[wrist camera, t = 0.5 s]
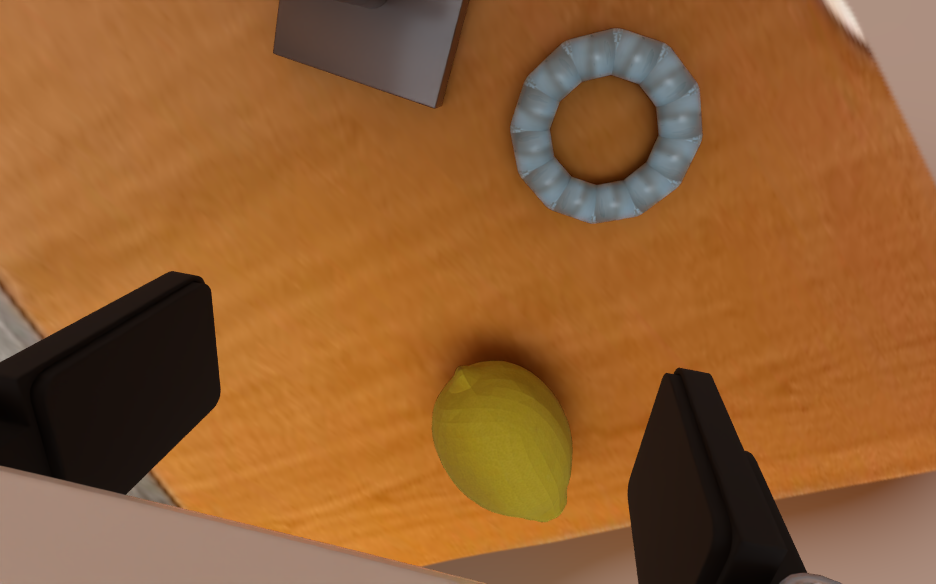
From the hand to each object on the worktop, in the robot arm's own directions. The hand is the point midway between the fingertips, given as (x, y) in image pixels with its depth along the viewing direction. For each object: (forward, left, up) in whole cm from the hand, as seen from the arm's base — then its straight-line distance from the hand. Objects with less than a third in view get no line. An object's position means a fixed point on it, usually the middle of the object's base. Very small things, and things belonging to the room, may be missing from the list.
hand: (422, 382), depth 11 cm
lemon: (+14, +4, -21) cm, 26 cm away
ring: (-4, +3, -20) cm, 20 cm away
